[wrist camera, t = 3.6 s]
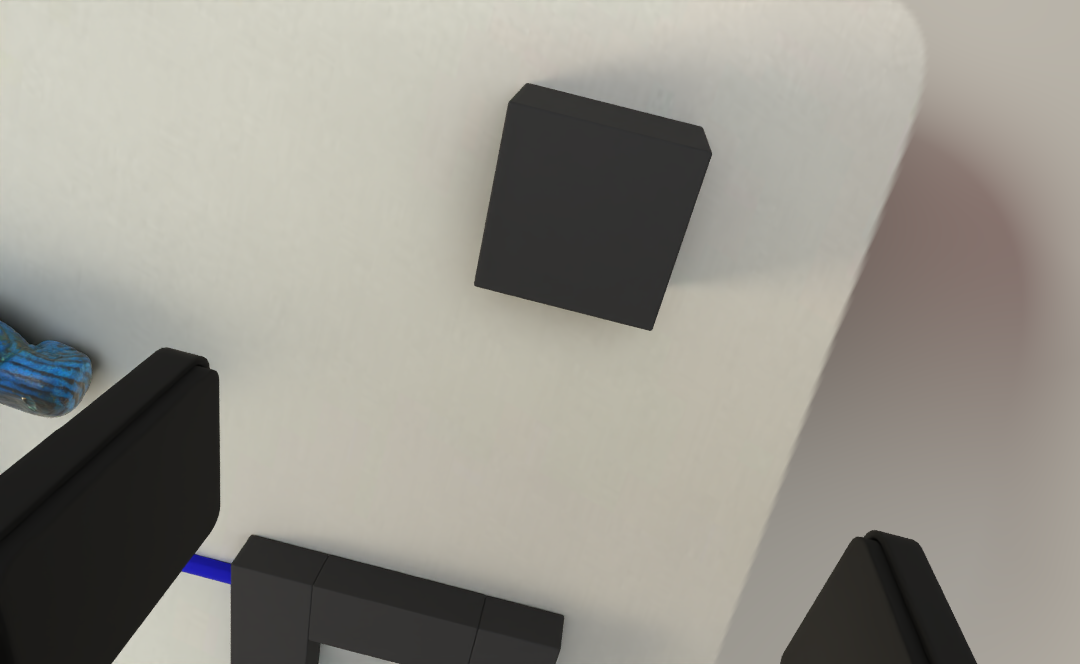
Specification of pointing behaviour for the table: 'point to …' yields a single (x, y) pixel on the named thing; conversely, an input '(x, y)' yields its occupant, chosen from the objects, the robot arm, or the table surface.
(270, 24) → the table surface
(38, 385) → the figurine
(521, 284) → the black block
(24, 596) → the robot arm
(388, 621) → the dark grey square frame
